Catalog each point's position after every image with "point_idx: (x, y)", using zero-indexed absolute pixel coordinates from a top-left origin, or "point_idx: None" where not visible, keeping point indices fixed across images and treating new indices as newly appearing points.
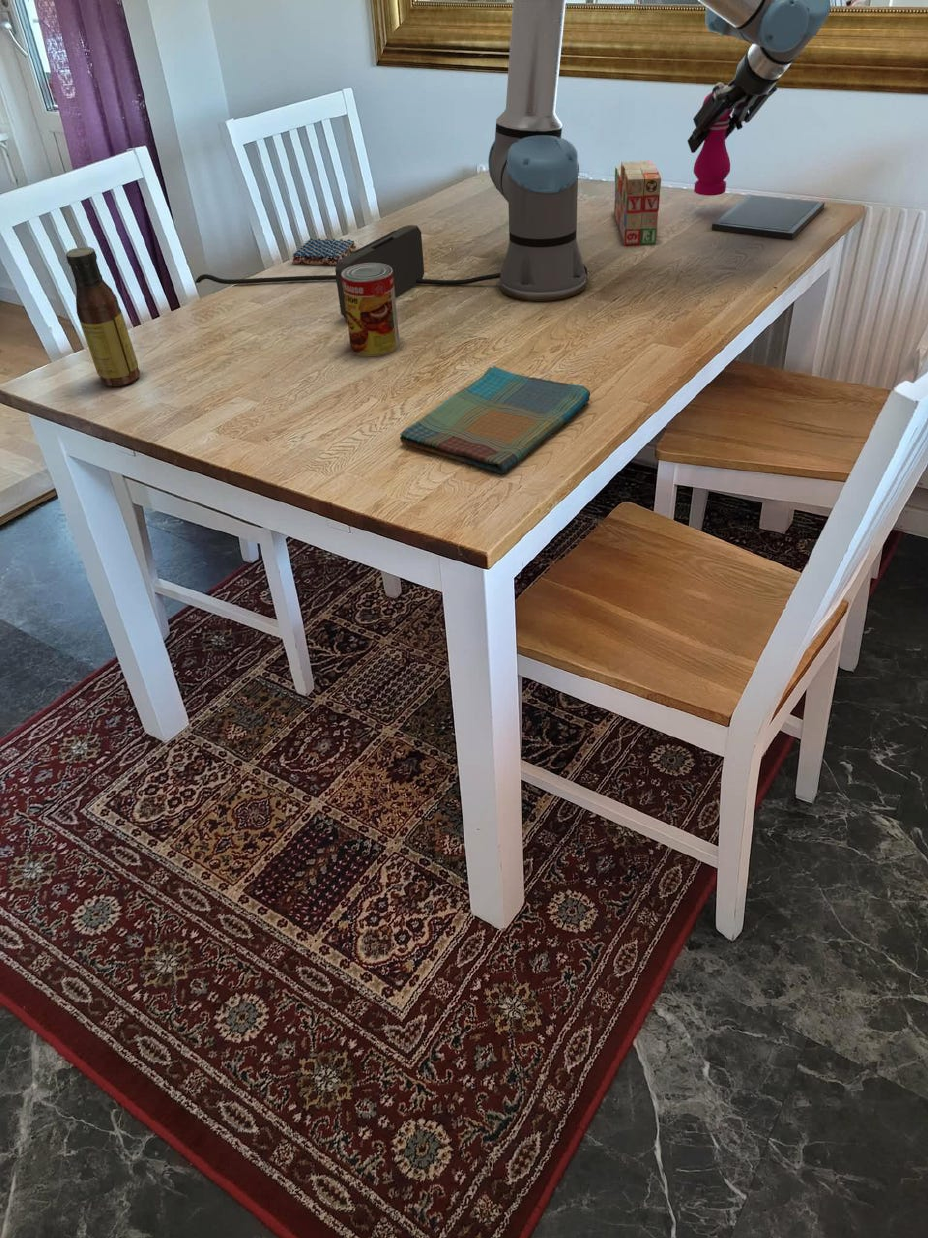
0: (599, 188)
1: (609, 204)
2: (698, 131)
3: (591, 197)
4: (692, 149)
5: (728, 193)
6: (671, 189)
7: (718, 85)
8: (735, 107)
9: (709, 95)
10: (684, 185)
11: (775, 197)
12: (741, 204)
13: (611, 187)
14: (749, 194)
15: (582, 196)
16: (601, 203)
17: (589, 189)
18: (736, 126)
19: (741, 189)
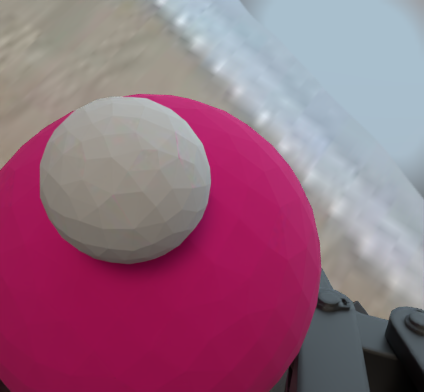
0: (95, 16)
1: (19, 119)
2: None
3: (30, 55)
4: None
5: (335, 217)
6: (228, 108)
7: (48, 197)
8: (295, 388)
9: (2, 190)
10: (275, 101)
11: None
12: (277, 383)
13: (122, 24)
14: (357, 304)
15: (20, 39)
16: (11, 102)
17: (72, 10)
18: (285, 386)
19: (386, 208)
